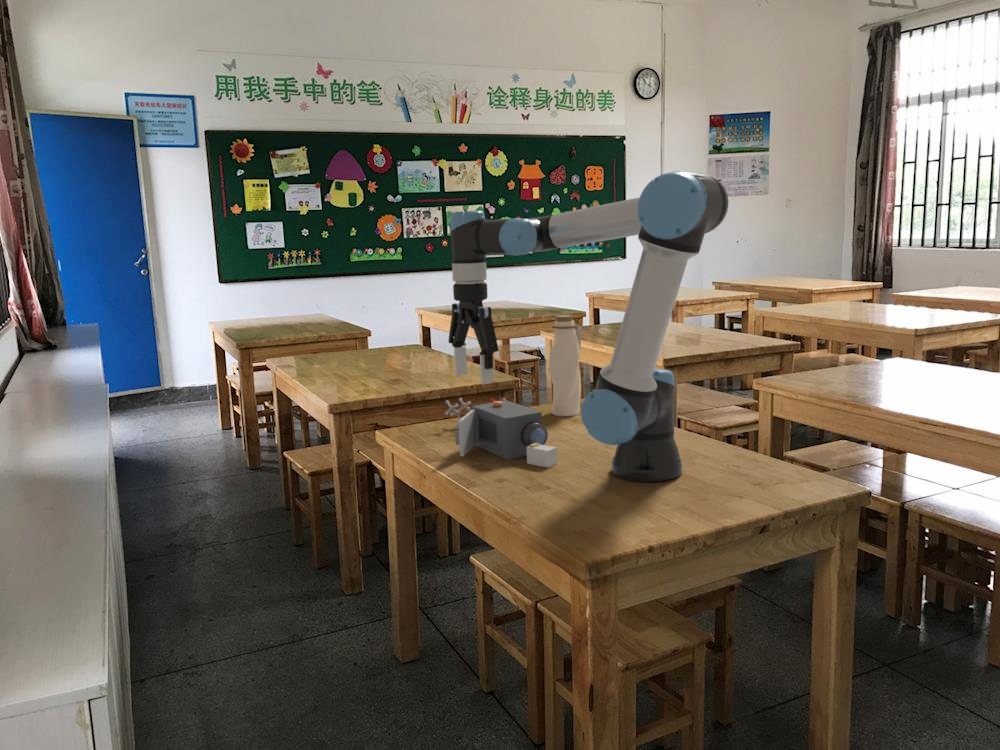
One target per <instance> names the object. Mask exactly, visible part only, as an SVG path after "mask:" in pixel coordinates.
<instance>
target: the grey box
mask: <svg viewBox="0 0 1000 750" xmlns="http://www.w3.org/2000/svg"><path fill="white" fill-rule="evenodd" d="M472 409H474V410H475V412H476V437H477V444H475V445H474V446H476V447H478V448H479V449H481V450H484V451H487V452H489V453H490V454H492V455H495V456H498V457H500V458H502V459H504V460H507V461H509V460H512V459H518V458H522V457H527V447H528V446H529V445H531V444H533V443H540V444H541V445H546V443H547V441H548V438H549V437H548V436H549V435H548V430H547V429H548V428H546V426H545V425H543V422H542V421H543V417H542V411H539V410H536V409H534V408H530V407H528V406H526V405H522V404H519V403H516V402H513V401H509V400H507V399H506V400H505V401H502V400H494V402H493V403H490V402H487V403H483V404H481V403H480V404H476V405H472V406H471V410H472Z"/></svg>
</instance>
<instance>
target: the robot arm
mask: <svg viewBox="0 0 1000 750" xmlns="http://www.w3.org/2000/svg"><path fill="white" fill-rule="evenodd" d="M728 210H729V196H728V192H727V190H726V188H725V186H724V185H723V183H722V182H721V181H719V179H717V178H715V177H714V176H712V175H709V174H708V173H707V174H706V173H701V172H687V171H681V170H677V171H671V172H666V173H663V174H660V175H657V176H656V177H654V178H653V179H652V180H651V181H649V182H648V183H647V184H646V185H645V187H644V188H643V190H642V191H641V194H640V196H639V197H635V198H634V197H633V198H629V199H625V200H620V201H615V202H614V201H613V202H610V203H604V204H601V205H595V206H591V207H585V208H580V209H574V210H569V211H565V212H560V213H555V214H547V215H543V216H538V217H530V218H529V217H528V218H527V217H525V218H520V217H515V218H513V217H512V218H498V219H486V217H485V212H484V211H482V210H467V211H466V210H464V211H459V210H458V211H453V213H451V215H450V230H449V233H450V241H451V243H450V244H451V254H452V255H451V256H452V259H451V261H452V263H451V268H452V269H451V271H452V281H453V282H454V284H453V285H452V287H453V288H452V289H453V290H452V291H453V300H454V301H456V303H455V302H454V303H452V304H451V321H450V327H449V335H448V343H449V344H452V347H453V355H454V375H455V376H456V377H458V376H459V377H460V376H465V375H468V363H467V361H468V360H467V347H466V346H467V344H466V339H467V336H468V332H469V330H470V328H472V329H473V331H474V334H475V336H476V340H477V343H478V345H479V348H480V352H479V354H478V355H479V365H480V366H479V367H480V384H481V385H485V384H492V383H494V370H493V369H494V360H493V359H494V358H493V354H495V353H496V352H499V345H498V341H497V336H496V331H495V327H494V323H493V318H492V308H491V306H485V307H484V304H483V301H485V300H487V299H488V284H487V282H485V281H486V280H487V277H488V276H487V269H488V266H487V256H490V255H493V256H515V257H516V256H523V255H524V256H525V255H528V254H531V253H537V252H540V253H542V252H550V251H551V250H558V249H561V248H568V247H574V246H581V245H585V244H591V243H592V244H593V243H598V242H605V241H609V240H610V241H611V240H617V239H621V238H628V237H634V236H638V237H637V239H638V241H639V243H640V244H641V246H642V251H641V256H640V258H639V263H638V266H637V269H636V273H635V277H634V281H633V284H632V287H631V291H630V294H629V297H628V301H627V304H626V307H625V308H626V309H625V312H624V314H623V319H622V322H621V326H620V329H619V332H618V336H617V340H616V342H615V343H616V344H615V346H614V349H613V354H612V357H611V360H610V363H609V364H607V365H605V366H603V367H602V368H601V369H600V371H599V374H598V377H597V381H596V385H595V389H594V390H592V391H590V392H589V393H588V394H587V396H586V397H585V398H584V400H583V402H582V403H581V408H580V417H581V420H582V424H583V426H584V427H585V429H586V432H587V433H588V434H589V435H590V436H591V437H592V438H593V439H594V440H596V441H597V442H599V443H601V444H604V445H608V446H616V445H617V446H616V449H615V453H614V455H613V458H612V460H611V472H612V474H613V475H615V476H616V477H618V478H620V479H624V480H627V481H633V482H634V481H635V482H640V483H641V482H644V483H645V482H646V483H652V482H653V483H654V482H655V481H656V483H657V481H658V482H664V481H663V480H666V481H669V480H668V479H671V480H673V479H672V478H674V479H676V478H675V477H677V476H678V477H680V476H681V475H682V474H681V473H682V472H683V462H682V461H683V460H682V459H681V457H680V454H679V453H680V452H679V450H678V447H677V443H676V441H675V400H676V399H675V397H676V396H675V390H676V384H675V375H674V373H673V371H671V370H669V369H663V368H656V364H657V362H658V359H659V357H660V356H659V355H660V353H661V348H662V346H663V342H664V340H665V336H666V332H667V329H668V326H669V323H670V319H671V316H672V313H673V311H674V306H675V304H676V301H677V297H678V294H679V290H680V287H681V283H682V281H683V279H684V278H683V277H684V274H685V270H686V267H687V263H688V261H689V260H690V259H691V258H693V257H696V256H697V255H698V254H699V253H700V250H701V247H702V244H703V240H704V238H705V234H708V233H710V232H712V231H714V230H715V229H716V228H717V227H719V226H720V225H721V224H722V222H723V221H724V220H725V217H726V215H727V214H728ZM680 474H681V475H680ZM679 475H680V476H679ZM678 477H677V478H678Z"/></svg>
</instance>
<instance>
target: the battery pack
mask: <svg viewBox="0 0 1000 750" xmlns="http://www.w3.org/2000/svg"><path fill="white" fill-rule="evenodd" d="M526 463H527V464H528V465H533V466H539V467H544V468H551V467H553V466H556V465H558V447H556V446H550V445H546V444H544V445H541V444H540V443H533V444H531V445H529V446H528V447H527V456H526Z"/></svg>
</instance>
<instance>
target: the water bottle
mask: <svg viewBox="0 0 1000 750" xmlns="http://www.w3.org/2000/svg"><path fill="white" fill-rule="evenodd" d="M550 327H551V328H552V329H554V330H553V331H554V334H553V335H554V336H553V337H554V340H553V341H554V342H553V344H552V347H551V348H550V351H549V356H548V369H549V374H550V379H551V381H552V411H551V412H552V415H554V416H557V417H574V416H579V414H580V410H581V408H580V406H581V396H582V393H581V392H582V383H581V382H582V380H581V370H580V366H579V365H580V351H582V350H581V348H582V347H581V344H582V343H581V342H582V339H581V337H582V335H581V334H582V326H581V325H579V324H576V323H575V321H574V315H572V314H560V315H556V316H555V320H554V324H552V325H550Z"/></svg>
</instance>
